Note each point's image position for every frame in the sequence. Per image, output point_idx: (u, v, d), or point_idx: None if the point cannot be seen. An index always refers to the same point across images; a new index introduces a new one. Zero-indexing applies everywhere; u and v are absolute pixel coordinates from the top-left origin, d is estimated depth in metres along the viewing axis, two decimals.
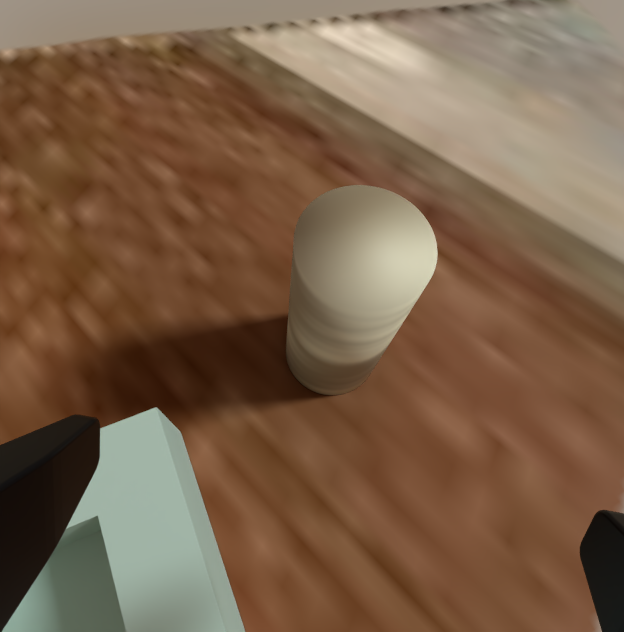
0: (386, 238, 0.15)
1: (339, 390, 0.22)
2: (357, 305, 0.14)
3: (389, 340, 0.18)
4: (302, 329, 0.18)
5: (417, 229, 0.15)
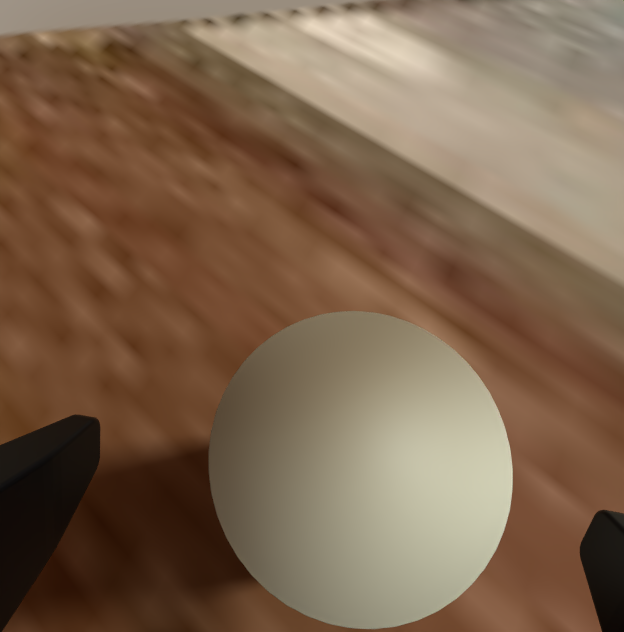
0: (406, 434, 0.07)
1: None
2: (342, 618, 0.06)
3: None
4: None
5: (468, 410, 0.07)
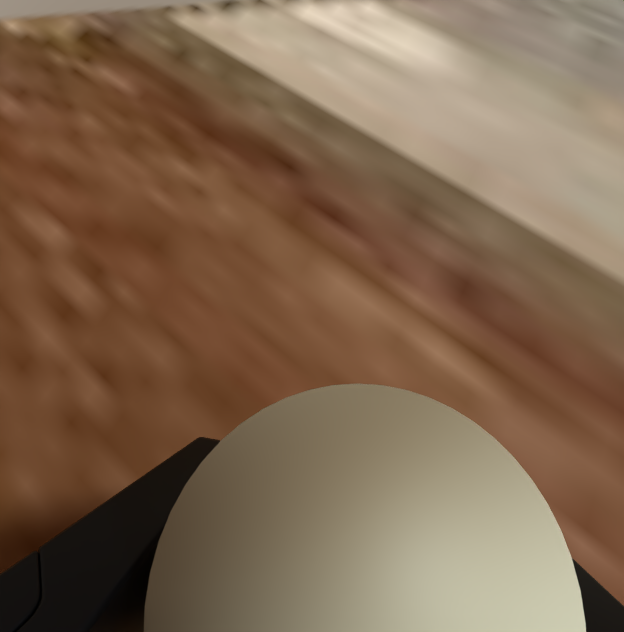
0: (432, 571, 0.05)
1: None
2: None
3: None
4: None
5: (519, 532, 0.05)
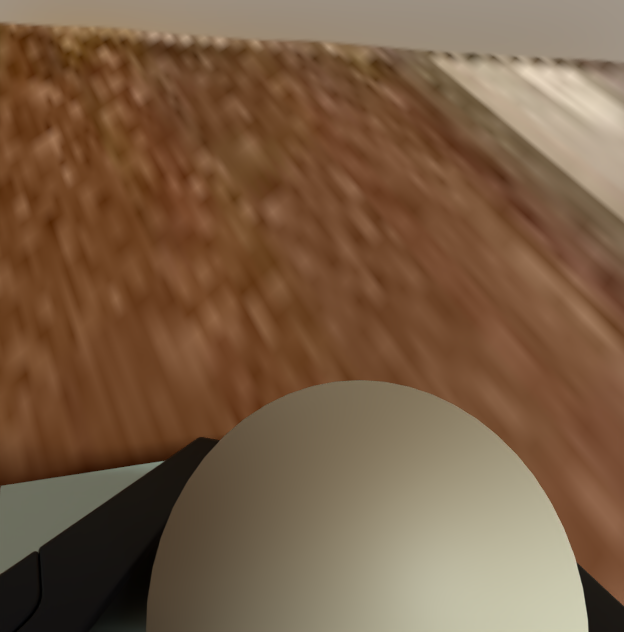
0: (433, 568, 0.05)
1: None
2: None
3: None
4: None
5: (521, 528, 0.05)
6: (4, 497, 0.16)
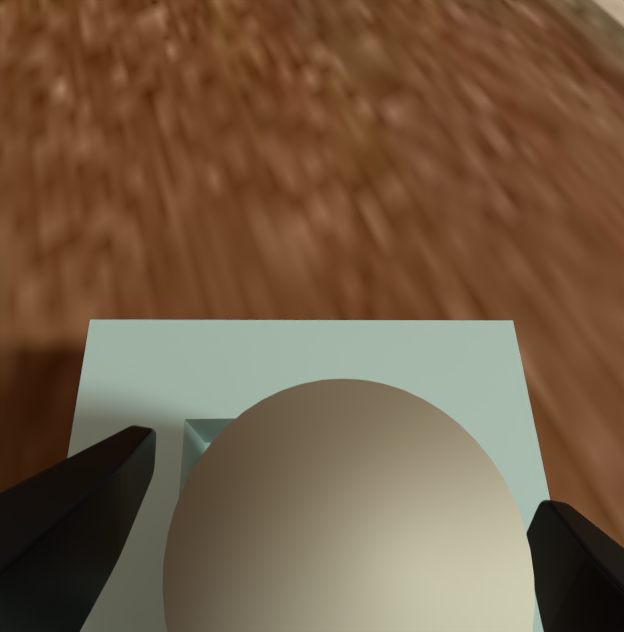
0: (404, 534, 0.06)
1: None
2: None
3: None
4: None
5: (478, 502, 0.06)
6: (93, 333, 0.13)
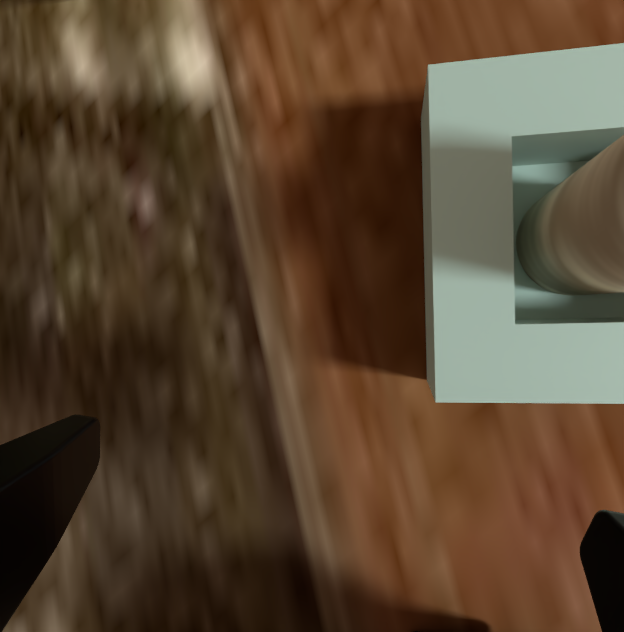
0: None
1: None
2: None
3: None
4: (582, 262, 0.14)
5: None
6: (431, 76, 0.17)
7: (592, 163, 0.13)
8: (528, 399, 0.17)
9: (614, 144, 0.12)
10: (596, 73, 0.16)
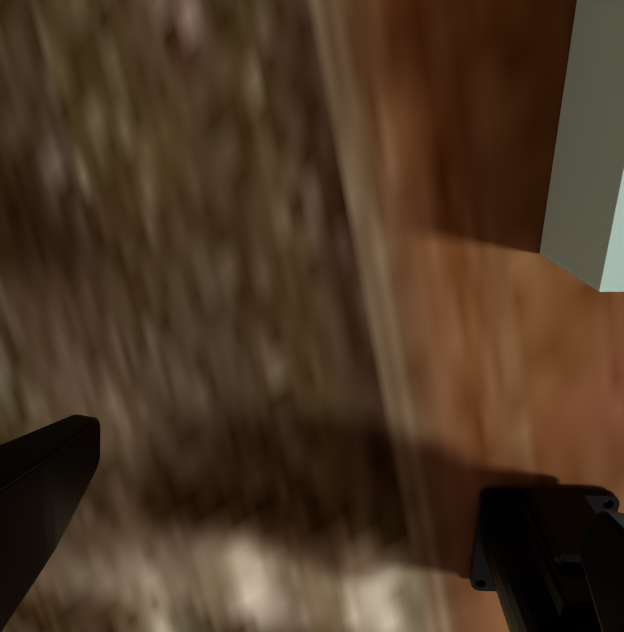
0: None
1: None
2: None
3: None
4: None
5: None
6: None
7: None
8: None
9: None
10: None
